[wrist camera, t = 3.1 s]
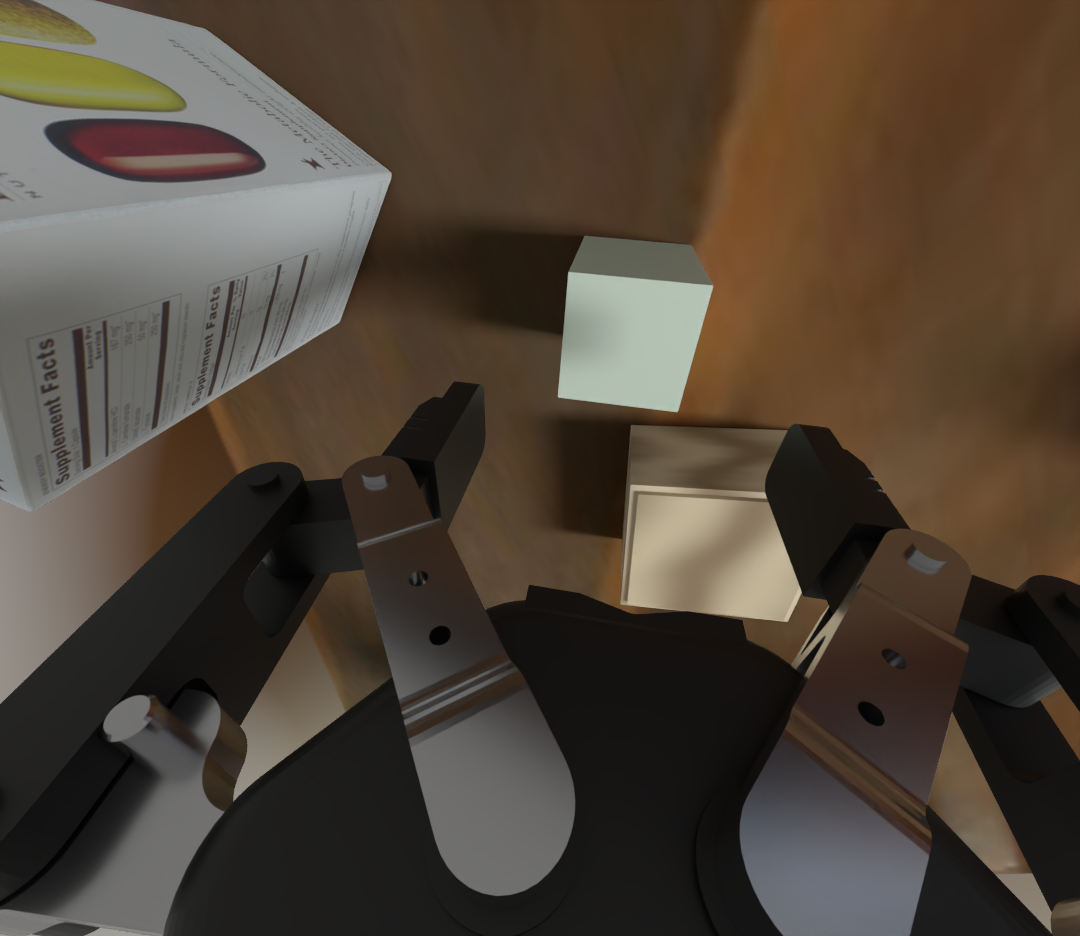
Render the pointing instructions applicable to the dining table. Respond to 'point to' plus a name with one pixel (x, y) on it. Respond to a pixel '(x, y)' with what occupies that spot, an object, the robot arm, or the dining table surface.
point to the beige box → (704, 524)
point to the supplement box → (153, 232)
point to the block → (632, 322)
